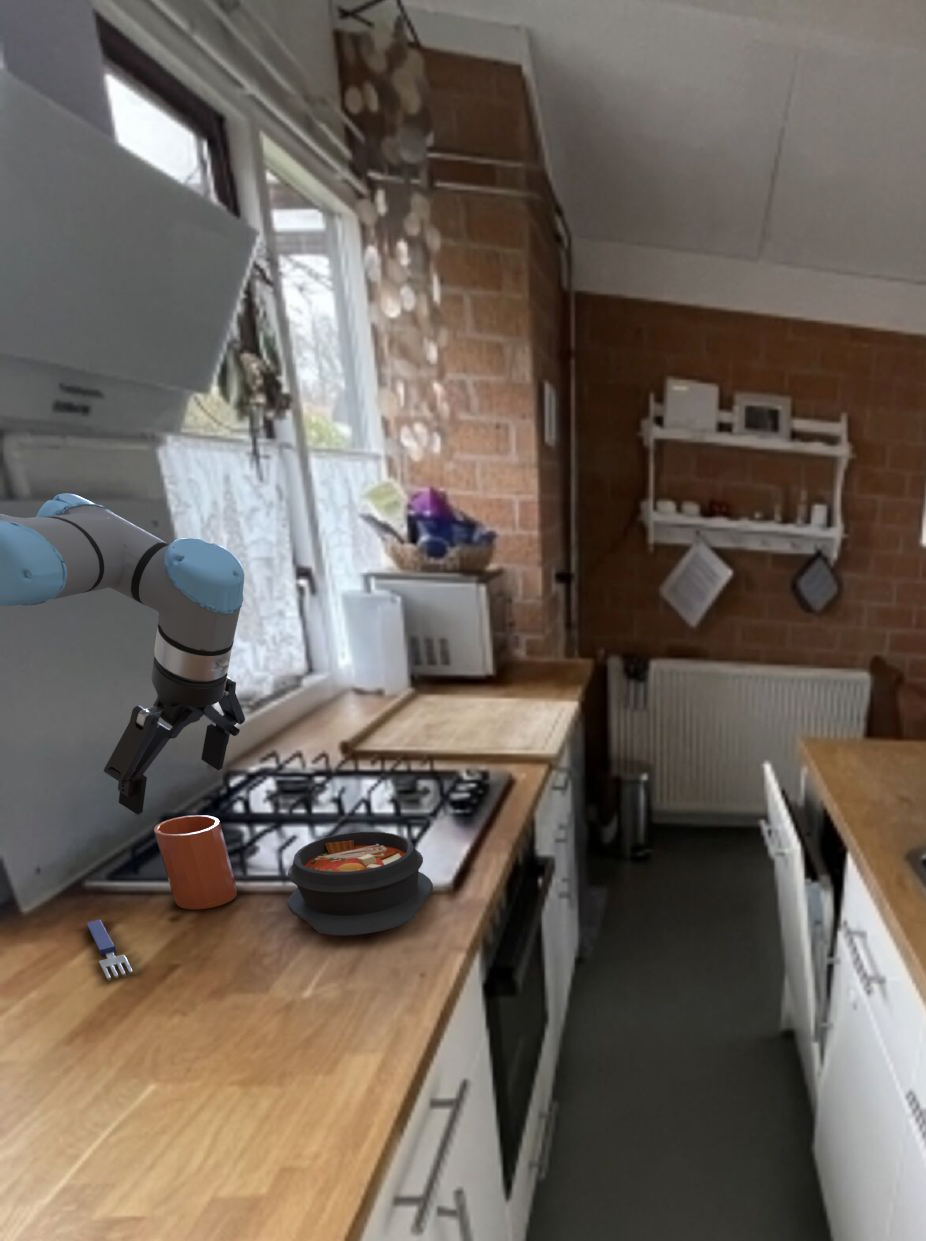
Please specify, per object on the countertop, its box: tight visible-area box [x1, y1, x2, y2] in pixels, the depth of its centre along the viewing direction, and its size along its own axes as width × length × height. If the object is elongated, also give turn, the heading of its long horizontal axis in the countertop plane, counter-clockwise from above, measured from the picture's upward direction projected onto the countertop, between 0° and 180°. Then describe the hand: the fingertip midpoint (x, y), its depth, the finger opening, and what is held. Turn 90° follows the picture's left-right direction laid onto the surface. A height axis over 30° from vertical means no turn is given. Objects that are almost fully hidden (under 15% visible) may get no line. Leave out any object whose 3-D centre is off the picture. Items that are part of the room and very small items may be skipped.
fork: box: [86, 919, 135, 982], centre depth 108 cm, size 16×3×1 cm, turn 44°
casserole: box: [286, 831, 434, 936], centre depth 121 cm, size 25×19×8 cm
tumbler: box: [153, 814, 238, 911], centre depth 120 cm, size 7×7×11 cm
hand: (173, 784), depth 118 cm, fingers open, 13 cm apart
